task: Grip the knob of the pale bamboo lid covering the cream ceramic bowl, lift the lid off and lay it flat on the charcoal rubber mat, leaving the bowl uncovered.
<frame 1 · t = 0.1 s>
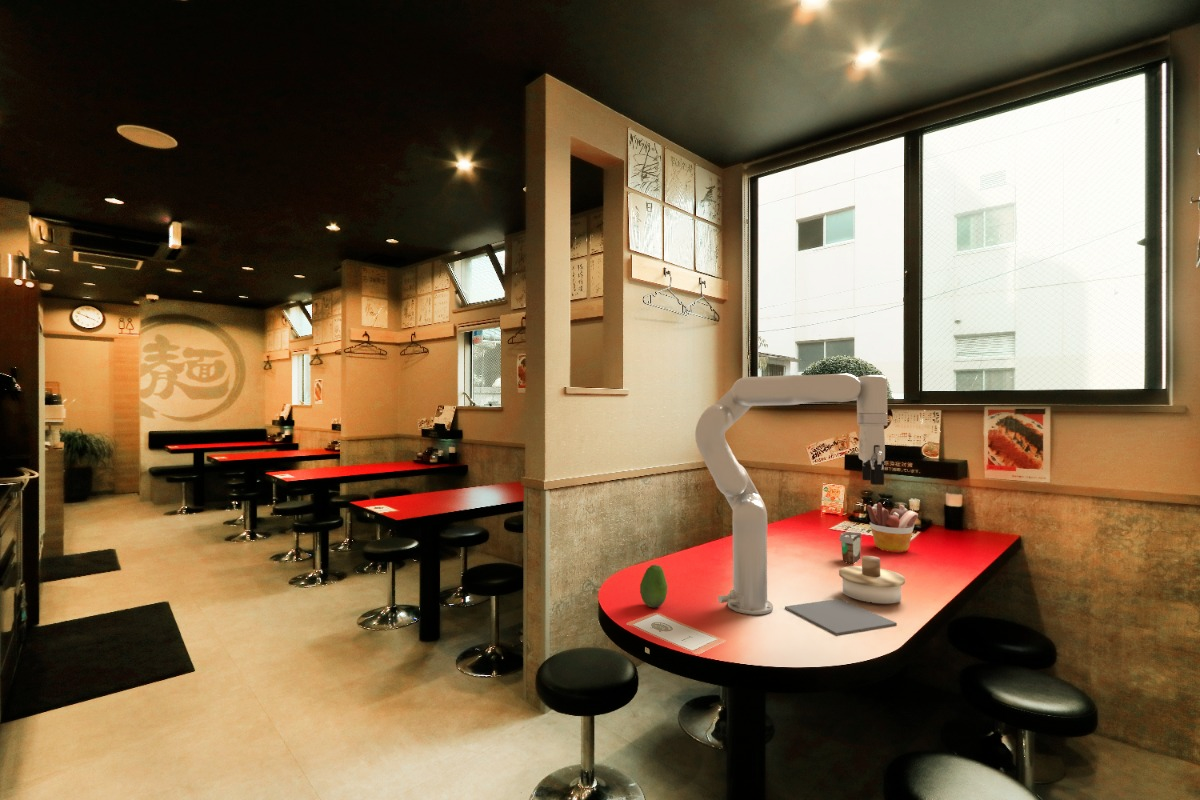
hand: (872, 482, 150), 37 cm above the table, tool pointing down, fingers open, 9 cm apart
rubber mat: (838, 616, 151), on the table
ceramic bowl: (871, 597, 166), on the table
bucket of meat: (891, 549, 225), on the table
avocado: (653, 607, 158), on the table
bamboo lid: (871, 577, 167), point 6 cm above the table, touching ceramic bowl
food container: (848, 561, 208), on the table
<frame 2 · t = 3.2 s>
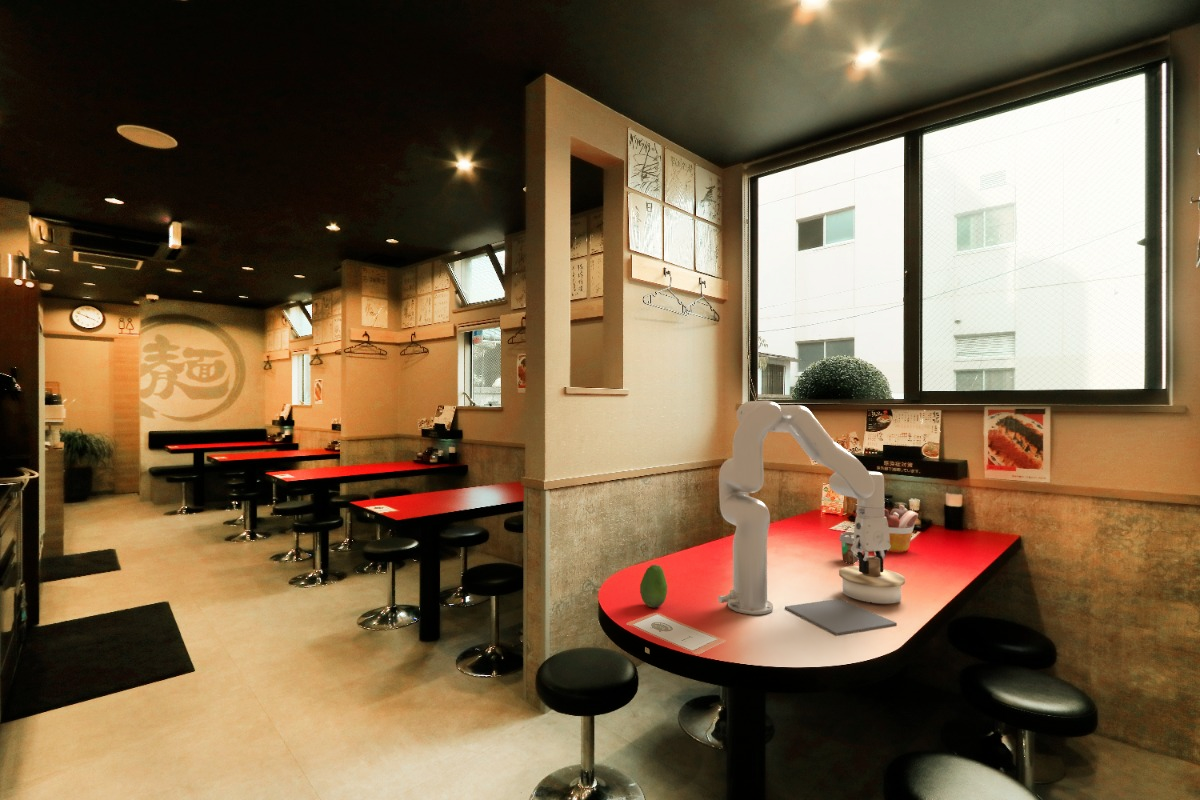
hand: (871, 571, 167), 8 cm above the table, tool pointing down, fingers closed on bamboo lid, 5 cm apart
bamboo lid: (871, 577, 167), point 6 cm above the table, touching ceramic bowl, gripper
everything else where it was.
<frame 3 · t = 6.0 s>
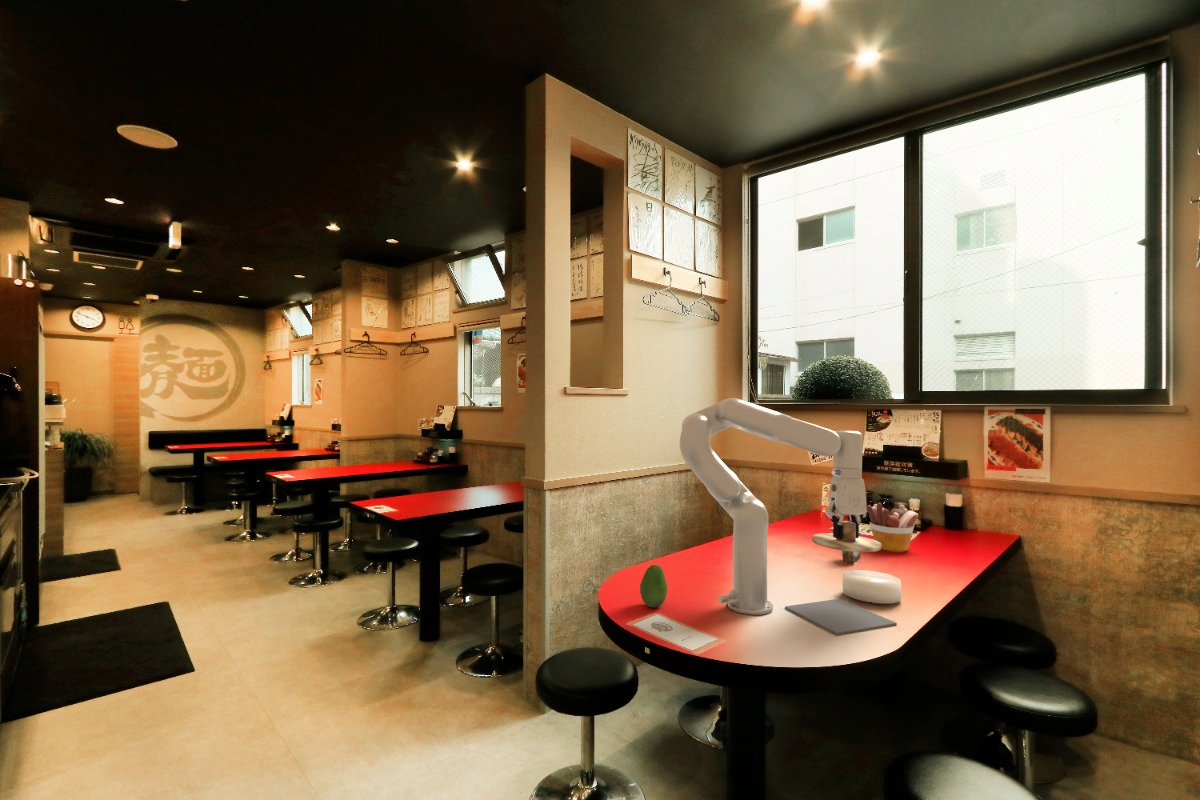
hand: (845, 537, 156), 21 cm above the table, tool pointing down, fingers closed on bamboo lid, 5 cm apart
bamboo lid: (845, 543, 156), point 19 cm above the table, touching gripper
everything else where it was.
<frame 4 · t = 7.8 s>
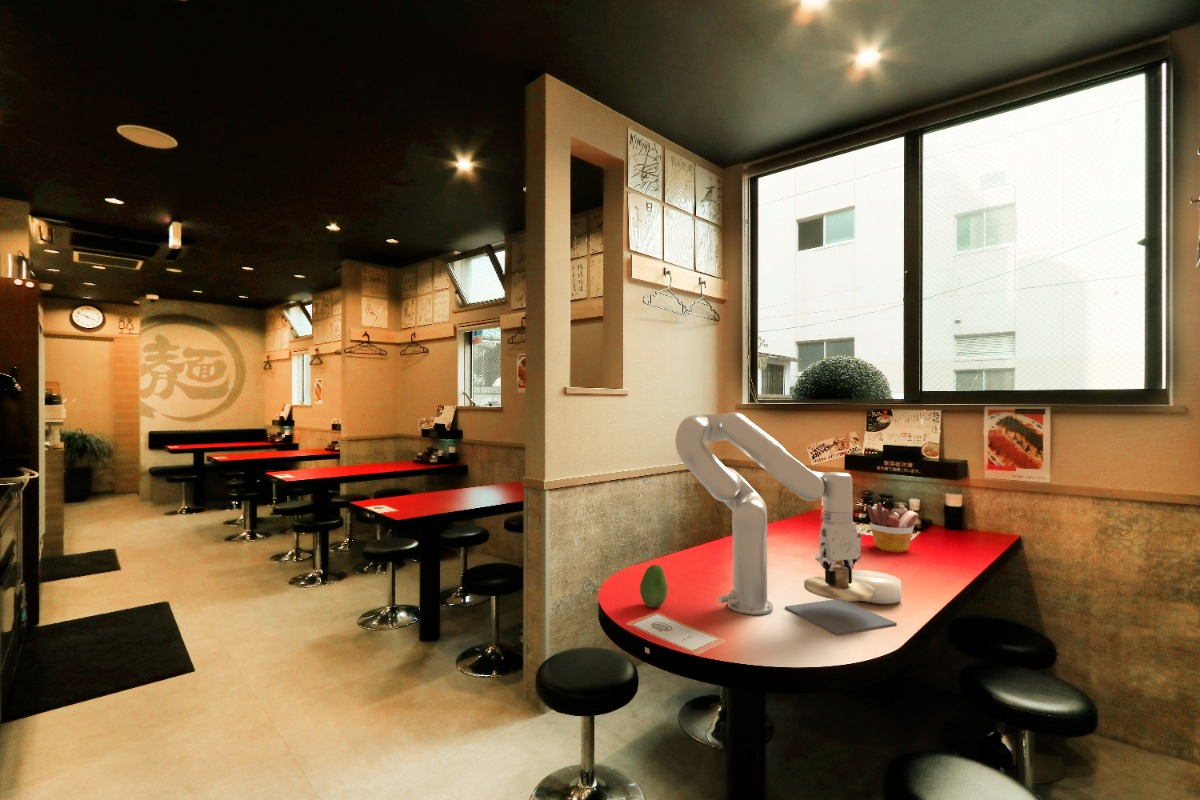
hand: (838, 582, 151), 9 cm above the table, tool pointing down, fingers closed on bamboo lid, 5 cm apart
bamboo lid: (838, 589, 151), point 7 cm above the table, touching gripper
everything else where it was.
when the fingers open (4 cm above the table, at t = 9.1 s): bamboo lid drops 1 cm, resting on rubber mat.
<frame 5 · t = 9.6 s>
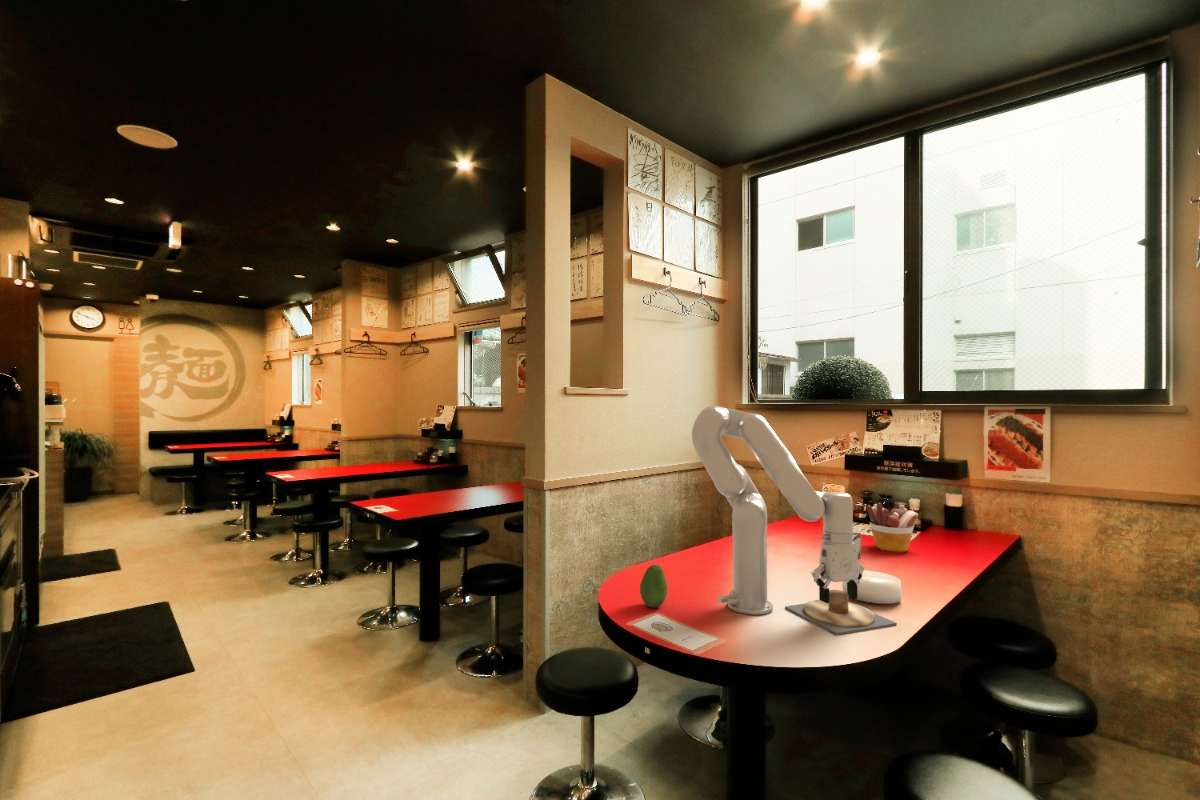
hand: (838, 599, 151), 5 cm above the table, tool pointing down, fingers open, 9 cm apart
bamboo lid: (838, 614, 151), point 1 cm above the table, touching rubber mat
everything else where it was.
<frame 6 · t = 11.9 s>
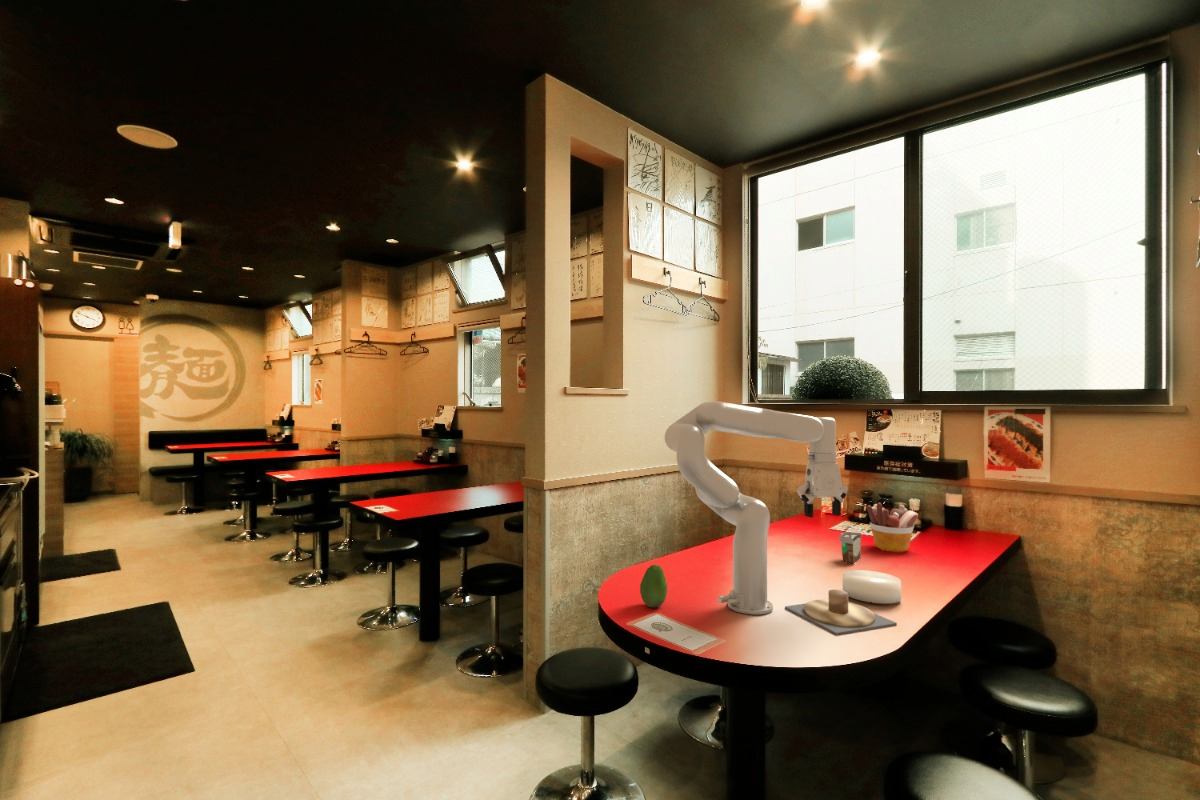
hand: (822, 515, 163), 25 cm above the table, tool pointing down, fingers open, 9 cm apart
nothing on the table moved.
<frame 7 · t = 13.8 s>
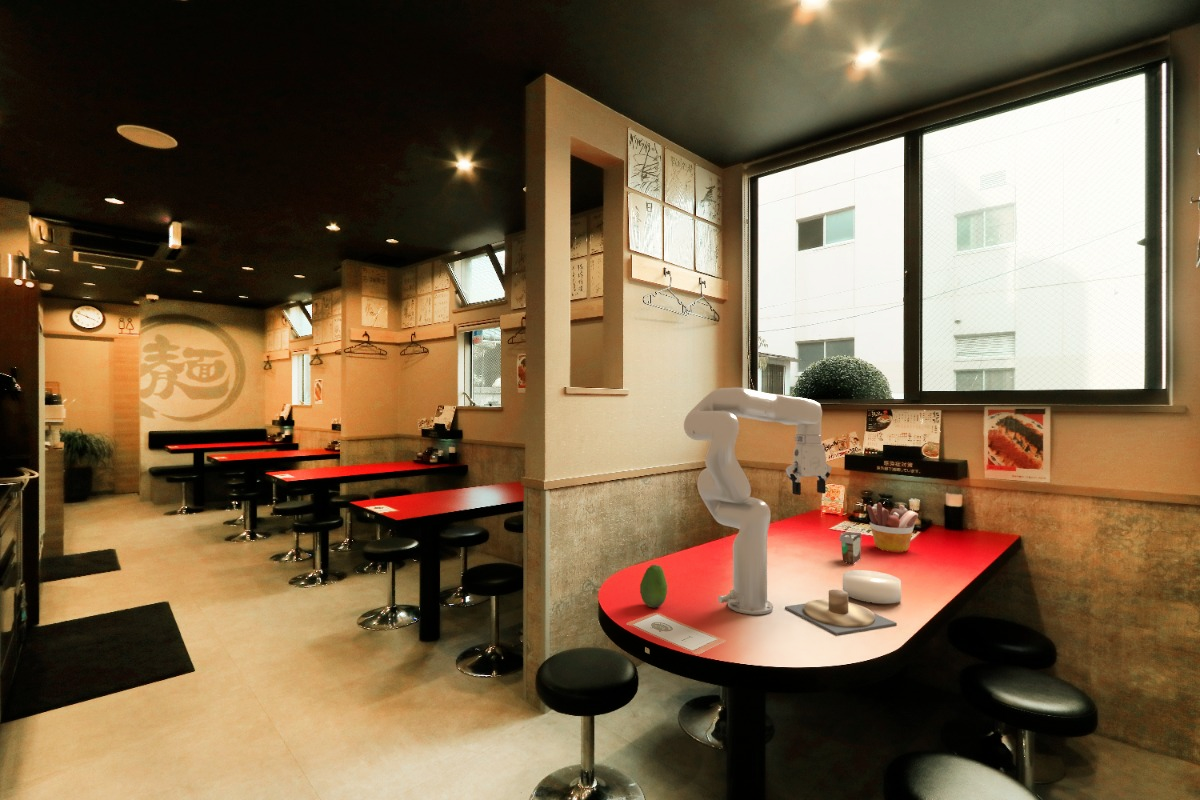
hand: (809, 493, 175), 30 cm above the table, tool pointing down, fingers open, 9 cm apart
nothing on the table moved.
at the end: bamboo lid inside the target area on the rubber mat (0.1 cm from its centre), point 0.6 cm above the rubber mat's base; bamboo lid touching rubber mat; bamboo lid tilted 0° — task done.
